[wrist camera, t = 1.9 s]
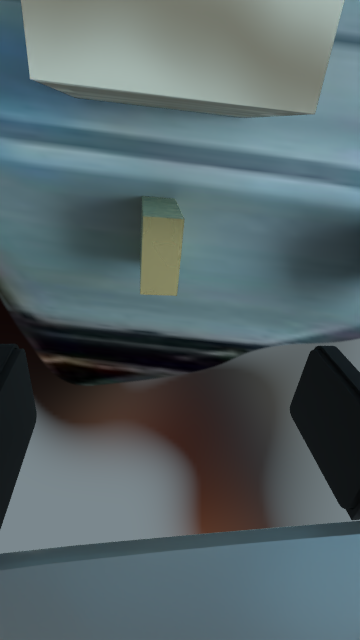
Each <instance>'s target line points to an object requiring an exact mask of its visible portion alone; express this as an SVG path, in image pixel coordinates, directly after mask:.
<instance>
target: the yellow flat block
mask: <svg viewBox="0 0 360 640" xmlns="http://www.w3.org/2000/svg"><path fill="white" fill-rule="evenodd" d="M183 229H184V217H183V215H182V213H181V211H180V209H179V207H178V205H177V203H176V201H175V199H171V198H159V197H146V196H142V215H141V246H140V294H145V295H174V296H177V289H178V279H179V269H180V259H181V249H182V239H183Z"/></svg>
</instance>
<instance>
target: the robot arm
mask: <svg viewBox="0 0 360 640" xmlns="http://www.w3.org/2000/svg"><path fill="white" fill-rule="evenodd" d="M290 413H291V416H292V418H293V420H294V422H295V424H296V426H297V427H298V429H299V431H300V433H301V435H302V437H303V439H304V440H305V442H306V444H307V446H308V448H309V449H310V451H311V453H312V455H313V457H314V459H315V460H316V462H317V464H318V466H319V468H320V470H321V472H322V474H323V475H324V477H325V479H326V481H327V483H328V485H329V486H330V488H331V490H332V492H333V494H334V496H335V497H336V499H337V501H338V503H339V504H340V506H341V507H342V508H344V509H346V511H347V512H348V514H349V516H350V518H351V520H359V519H360V372H359V371H358V370H357V369H356V368H355V367H354V366H353V365H352V364H351V362H350V361H349V360H348V359H347V358H346V357H345V356H344V355H343V354H342V353H341V352H340V350H339V349H338V348H337V347H335V346H317V347H316V348H315V349H314V350H312V351H311V352H310V354H309V356H308V359H307V362H306V364H305V367H304V370H303V372H302V375H301V378H300V381H299V383H298V386H297V389H296V392H295V394H294V397H293V400H292V403H291V405H290ZM35 423H36V407H35V402H34V397H33V391H32V386H31V381H30V375H29V370H28V364H27V359H26V354H25V351H24V349H19V348H18V345H16V344H0V529H1V526H2V523H3V520H4V517H5V514H6V511H7V508H8V505H9V502H10V499H11V495H12V493H13V490H14V487H15V483H16V480H17V478H18V474H19V472H20V469H21V465H22V462H23V459H24V456H25V453H26V450H27V447H28V444H29V441H30V438H31V435H32V432H33V429H34V426H35ZM0 640H360V521H353V522H341V523H328V524H316V525H303V526H291V527H279V528H267V529H256V530H244V531H232V532H220V533H209V534H197V535H186V536H176V537H175V536H174V537H163V538H152V539H141V540H131V541H120V542H109V543H98V544H88V545H76V546H67V547H57V548H48V549H39V550H31V551H21V552H13V553H3V554H0Z"/></svg>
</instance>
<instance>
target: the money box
mask: <svg viewBox="0 0 360 640" xmlns="http://www.w3.org/2000/svg"><path fill="white" fill-rule="evenodd" d="M343 4H344V0H21V5H22V14H23V22H24V31H25V40H26V48H27V57H28V65H29V74H30V79H32V80H34V81H36V82H39V83H41V84H44V85H46V86H49V87H51V88H53V89H56V90H58V91H61V92H63V93H65V94H68V95H70V96H73V97H75V98H82V99H90V100H99V101H107V102H116V103H124V104H133V105H141V106H149V107H158V108H166V109H175V110H183V111H192V112H200V113H209V114H217V115H226V116H234V117H243V118H251V117H270V116H288V115H307V114H315V112H316V108H317V104H318V100H319V96H320V92H321V89H322V85H323V81H324V77H325V73H326V69H327V66H328V62H329V58H330V54H331V50H332V46H333V43H334V39H335V35H336V31H337V27H338V23H339V20H340V16H341V12H342V8H343Z"/></svg>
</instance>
